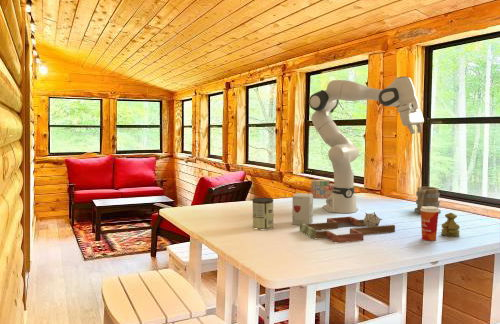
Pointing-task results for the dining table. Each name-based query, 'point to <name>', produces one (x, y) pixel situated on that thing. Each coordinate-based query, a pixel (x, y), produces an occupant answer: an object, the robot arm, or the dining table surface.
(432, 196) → the tankard
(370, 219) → the game die
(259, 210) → the coffee can
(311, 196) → the supplement box
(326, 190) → the stack of blocks
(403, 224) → the dining table surface
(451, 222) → the gold metal turned piece
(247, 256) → the dining table surface
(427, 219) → the paper cup
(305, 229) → the trap channel
